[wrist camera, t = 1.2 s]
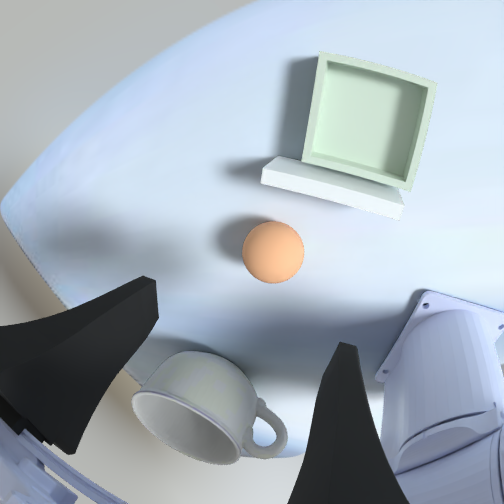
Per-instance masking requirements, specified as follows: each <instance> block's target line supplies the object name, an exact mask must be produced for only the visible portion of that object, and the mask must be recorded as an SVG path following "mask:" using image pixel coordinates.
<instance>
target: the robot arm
mask: <svg viewBox="0 0 504 504" xmlns="http://www.w3.org/2000/svg"><path fill="white" fill-rule="evenodd" d="M424 303H428V304H427V305H423V304H424ZM158 318H159V314H158V303H157V291H156V280H153V279H150V278H148V277H145V276H141V277H139V278H137V279H135V280H133V281H130V282H128V283H126V284H124V285H122V286H120V287H118V288H116V289H114V290H112V291H110V292H108V293H106V294H104V295H102V296H100V297H97V298H95V299H93V300H91V301H88V302H86V303H84V304H82V305H79V306H77V307H75V308H72V309H70V310H67V311H64V312H62V313H58V314H55V315H52V316H49V317H46V318H42V319H38V320H34V321H30V322H26V323H20V324H14V325H8V326H0V498H1V500H0V504H74V503H75V501H76V500H77V498H78V496H77V495H76V494H74V493H73V492H72V491H71V490H69V489H68V488H67V487H66V486H64V485H63V484H62V483H60V482H59V481H58V480H56V479H55V478H53V477H52V476H51V475H49V474H48V473H47V472H45V469H44V464H45V465H46V466H47V467H48V468H50V469H51V470H52V471H53V472H55V473H56V474H57V475H58V476H60V477H61V478H62V479H64V480H65V481H66V482H68V483H69V484H70V485H72V486H73V487H74V488H76V489H77V490H79V491H80V492H81V493H83V494H84V495H86V496H87V497H89V498H90V499H92V500H93V501H95V502H96V503H98V504H128V503H127V502H125V501H123V500H121V499H120V498H118V497H116V496H114V495H113V494H111V493H110V492H108V491H106V490H105V489H103V488H102V487H100V486H98V485H97V484H95V483H94V482H92V481H91V480H89V479H88V478H86V477H85V476H84V475H82V474H81V473H79V472H78V471H77V470H75V469H74V468H72V467H71V466H70V465H68V464H67V463H66V462H64V461H63V460H62V459H60V458H59V457H58V456H57V455H55V454H54V453H53V452H51V451H50V450H49V449H48V448H47V447H46V446H44V445H43V444H42V443H43V441H45V442H47V443H48V444H49V445H52V444H54V445H55V446H57V447H58V448H59V449H61V450H62V451H63V452H64V453H66V454H68V455H70V454H75V452H76V449H77V447H78V445H79V442H80V440H81V437H82V435H83V433H84V431H85V428H86V427H87V425H88V423H89V421H90V419H91V416H92V414H93V413H94V411H95V409H96V407H97V405H98V404H99V402H100V400H101V398H102V397H103V395H104V393H105V392H106V390H107V389H108V387H109V385H110V384H111V382H112V381H113V379H114V378H115V377H116V375H117V374H118V373H119V371H120V370H121V369H122V368H123V367H124V365H125V364H126V363H127V362H128V360H129V359H130V358H131V357H132V355H133V354H134V353H135V352H136V351H137V349H138V348H139V347H140V346H141V344H142V343H143V342H144V341H145V339H146V338H147V337H148V335H149V333H150V332H151V330H152V329H153V327H154V325H155V323H156V322H157V320H158ZM501 324H502V325H501ZM500 325H501V326H500ZM503 331H504V313H503V312H500V311H497V310H493V309H490V308H487V307H483V306H480V305H477V304H473V303H470V302H467V301H463V300H460V299H457V298H453V297H450V296H447V295H443V294H440V293H436V292H433V291H426V292H424V293H423V294H422V296H421V298H420V300H419V302H418V304H417V306H416V307H415V309H414V311H413V313H412V315H411V317H410V319H409V320H408V322H407V324H406V326H405V327H404V329H403V331H402V333H401V334H400V336H399V338H398V339H397V341H396V343H395V344H394V346H393V348H392V349H391V351H390V353H389V354H388V356H387V357H386V359H385V361H384V362H383V364H382V365H381V367H380V368H379V370H378V371H377V373H376V375H375V380H376V381H377V382H381V383H385V390H384V405H383V417H382V428H381V437H380V439H379V437H378V434H377V431H376V428H375V424H374V421H373V418H372V414H371V411H370V407H369V403H368V399H367V395H366V391H365V387H364V382H363V378H362V373H361V367H360V362H359V356H358V349H357V347H356V346H353V345H350V344H346V343H343V342H339V345H338V347H337V349H336V351H335V353H334V355H333V357H332V359H331V361H330V363H329V365H328V367H327V368H326V370H325V372H324V374H323V377H322V380H321V384H320V387H319V391H318V394H317V398H316V402H315V408H314V413H313V418H312V424H311V429H310V434H309V439H308V444H307V449H306V453H305V456H304V460H303V463H302V466H301V469H300V472H299V475H298V478H297V480H296V483H295V486H294V488H293V491H292V493H291V496H290V499H289V501H288V503H287V504H504V377H503V373H502V369H501V365H500V362H499V358H498V355H497V352H496V348H495V345H494V343H495V342H496V340H497V339H498V338H499V336H500V335H501V333H502V332H503ZM43 463H44V464H43Z"/></svg>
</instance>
